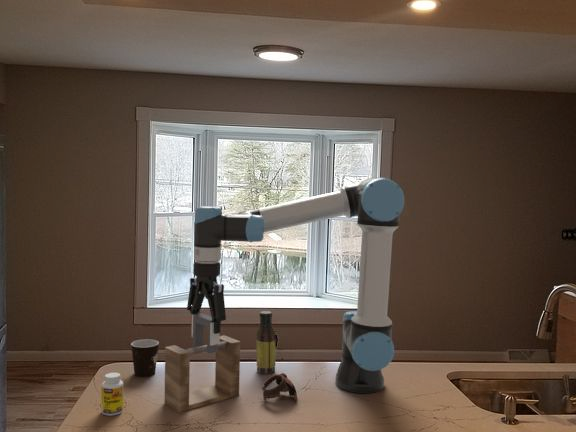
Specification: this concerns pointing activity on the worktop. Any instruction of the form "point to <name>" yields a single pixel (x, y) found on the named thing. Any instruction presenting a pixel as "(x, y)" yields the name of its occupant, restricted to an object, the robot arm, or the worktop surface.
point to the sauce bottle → (265, 344)
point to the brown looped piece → (279, 387)
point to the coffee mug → (144, 357)
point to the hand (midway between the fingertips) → (205, 340)
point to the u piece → (198, 324)
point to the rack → (180, 369)
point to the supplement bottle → (112, 395)
